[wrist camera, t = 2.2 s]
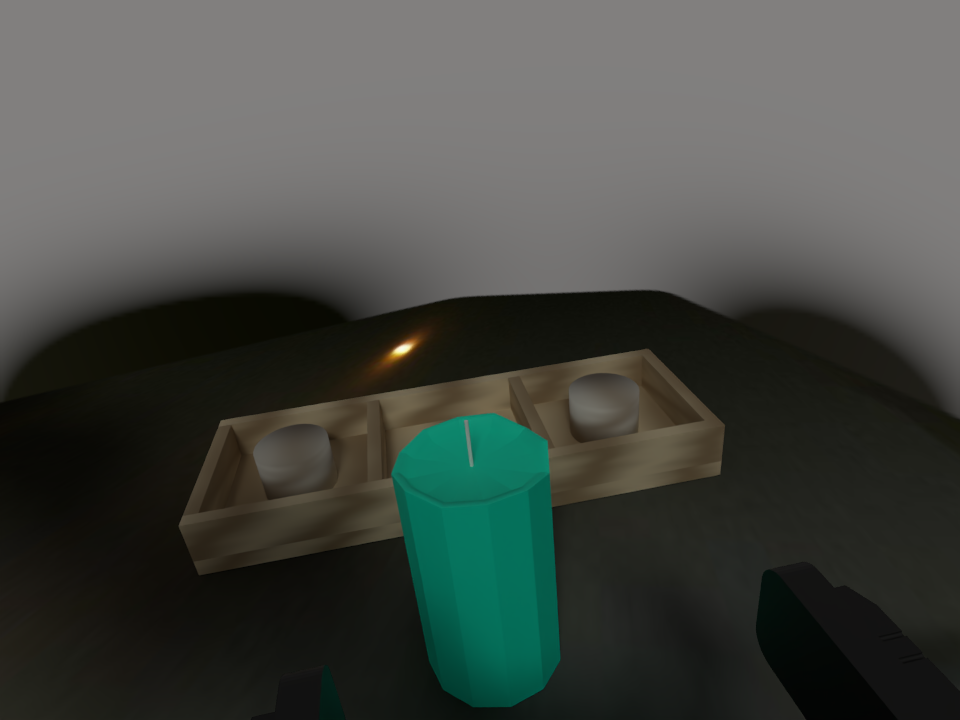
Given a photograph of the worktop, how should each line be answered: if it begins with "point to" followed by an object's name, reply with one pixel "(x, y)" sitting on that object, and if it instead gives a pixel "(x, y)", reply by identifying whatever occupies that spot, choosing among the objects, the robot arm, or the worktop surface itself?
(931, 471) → the worktop surface
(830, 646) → the robot arm
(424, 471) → the candle
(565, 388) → the tray
